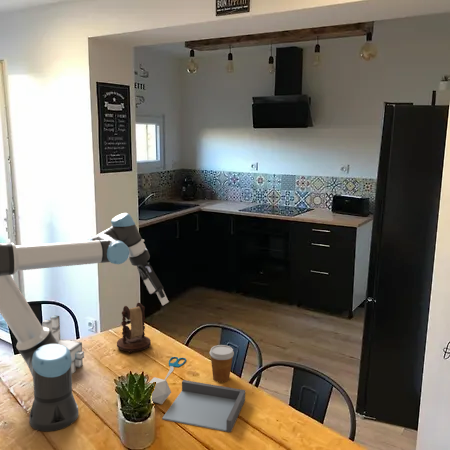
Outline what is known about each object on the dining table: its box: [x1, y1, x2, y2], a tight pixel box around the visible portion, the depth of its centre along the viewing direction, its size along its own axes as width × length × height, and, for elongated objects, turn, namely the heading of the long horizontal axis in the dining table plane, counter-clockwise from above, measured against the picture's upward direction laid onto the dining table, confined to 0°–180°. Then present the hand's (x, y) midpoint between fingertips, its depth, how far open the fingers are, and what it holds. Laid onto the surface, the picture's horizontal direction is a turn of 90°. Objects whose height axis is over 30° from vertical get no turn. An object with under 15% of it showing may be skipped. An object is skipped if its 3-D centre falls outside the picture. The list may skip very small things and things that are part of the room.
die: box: [148, 377, 172, 405], centre depth 163 cm, size 8×9×10 cm
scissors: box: [164, 356, 187, 381], centre depth 186 cm, size 7×1×20 cm
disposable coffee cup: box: [208, 344, 235, 383], centre depth 179 cm, size 10×10×12 cm
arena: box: [161, 379, 246, 433], centre depth 158 cm, size 20×24×4 cm
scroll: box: [116, 302, 151, 354], centre depth 204 cm, size 15×15×20 cm
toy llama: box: [41, 314, 85, 375], centre depth 184 cm, size 8×18×20 cm, turn 74°
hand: (159, 297), depth 181 cm, fingers open, 13 cm apart
